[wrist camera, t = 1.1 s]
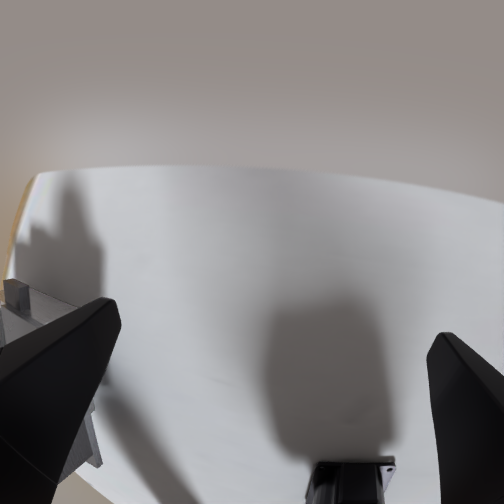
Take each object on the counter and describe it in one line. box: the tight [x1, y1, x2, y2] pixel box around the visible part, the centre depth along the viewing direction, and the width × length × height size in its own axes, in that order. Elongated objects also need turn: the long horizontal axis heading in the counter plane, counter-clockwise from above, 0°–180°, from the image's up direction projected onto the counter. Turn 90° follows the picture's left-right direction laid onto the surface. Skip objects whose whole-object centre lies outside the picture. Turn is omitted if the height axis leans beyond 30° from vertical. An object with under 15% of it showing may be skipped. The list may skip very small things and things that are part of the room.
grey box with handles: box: [0, 279, 95, 413], centre depth 22 cm, size 10×15×5 cm, turn 173°
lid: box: [1, 303, 103, 485], centre depth 14 cm, size 10×12×8 cm
